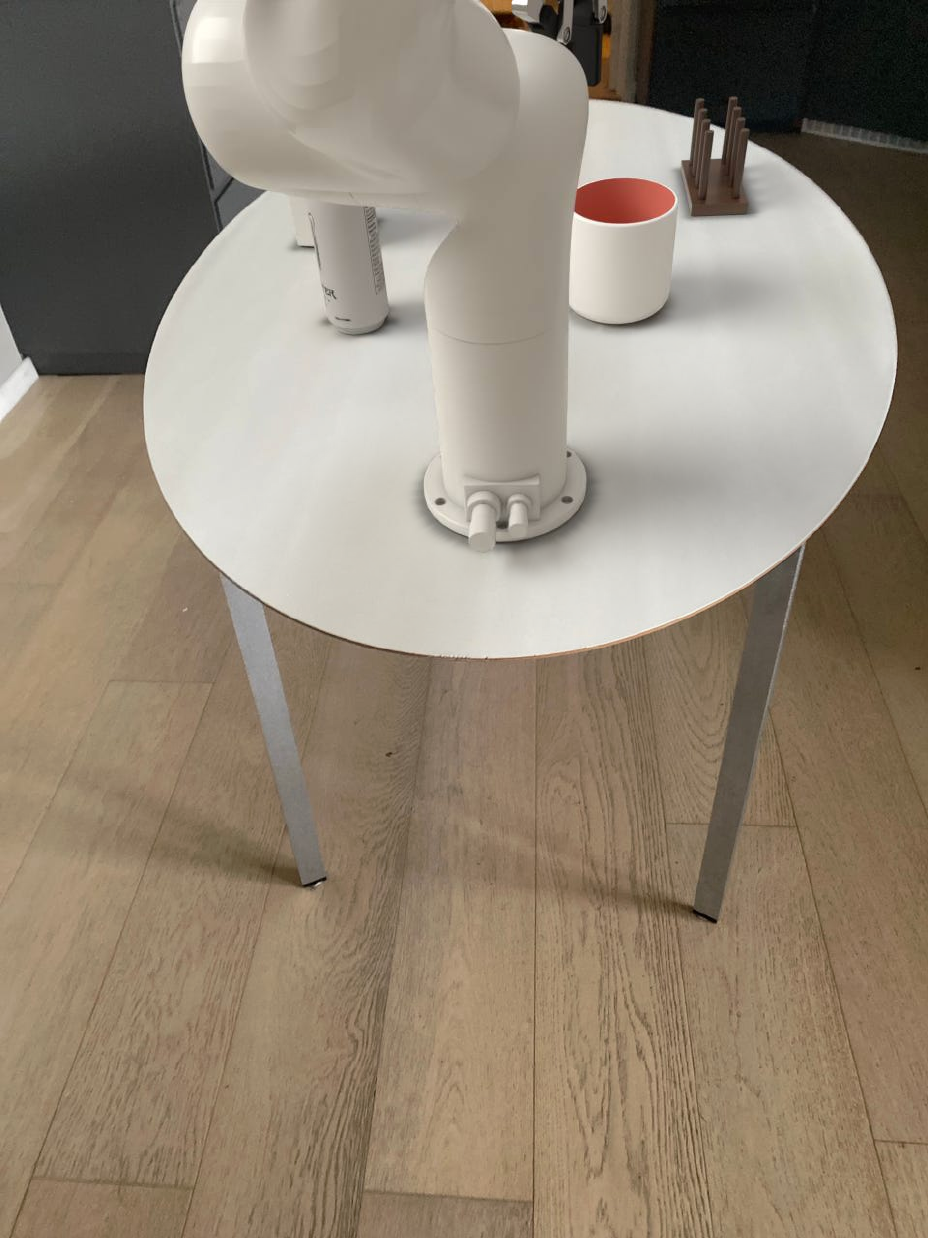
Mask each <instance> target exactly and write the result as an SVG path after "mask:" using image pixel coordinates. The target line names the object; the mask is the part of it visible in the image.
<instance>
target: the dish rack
mask: <svg viewBox="0 0 928 1238" xmlns="http://www.w3.org/2000/svg"><path fill="white" fill-rule="evenodd" d="M738 98H739V97H737V96H729V98H728V106H727V114H726V120H725V129H724V130H725V131H724V137H723V145H722V151H721V158H712V153H713V145H714V136H715V130H713V129H711V121H712V120H711V119H709V118H708V109H707V108H705V99H704V98H702V97H699V98H696V99H695V106H694V116H693V125H692V135H691V143H690V152H689V153H690V154H689V159H681V162H680V175H681V178H682V182H683V188H684V191H685V196H686V200H687V204H688V208H689V214H690V216H691V217H699V216H700V217H701V216H726V215H746V214H748V210H749V199H748V197H747V194H746V191H745V188H744V184H743V180H744V179H743V178H744V172H745V164H746V158H747V151H748V144H749V137H750V129H749V128H746V127H745V126H746V118H745V117H742V107H740V106H738Z"/></svg>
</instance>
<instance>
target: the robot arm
mask: <svg viewBox="0 0 928 1238" xmlns="http://www.w3.org/2000/svg"><path fill="white" fill-rule="evenodd" d="M546 1H547V0H512V1H511V12H512V14H513V15H514V16H515V17H518V18H519V19H521V20H522V21H524V22H525V24H526V25H527V26H528V28H529V29H528V30H523V29H516V28H508V27H507V28H506V27H501V25H500V23H499V21H498V20H497V19H496V17H495V16H494V15H493V13H492V12H491V10H489V9H488V7H487V6H486V5H485V4H484V3H483V2H482V1H481V0H197V1H196V2H195V3H194V6H193V8H192V9H191V12H190V14H189V18H188V21H187V23H186V27H185V31H184V36H183V41H182V50H181V75H182V86H183V91H184V96H185V101H186V104H187V107H188V111H189V115H190V117H191V120H192V123H193V125H194V128H195V130H196V132H197V134H198V136H199V138H200V140H201V141H202V143H203V145H204V147H205V148H206V150H207V151H208V153H209V154H210V156H211V157H212V158H213V160H214V161H215V162H216V163H217V164H218V165H219V167H220V168H222V170H224V172H226V173H227V174H228V175H229V176H231V177H232V178H233V179H235V180H236V181H237V182H240V183H242V184H244V185H245V186H249V187H252V188H255V189H259V190H263V191H266V192H267V191H268V192H271V193H272V192H273V193H277V194H280V195H287V196H288V195H290V196H295V197H300V198H305V199H310V200H315V201H321V202H327V203H334V204H341V205H352V206H365V207H375V208H380V209H381V208H383V209H392V210H393V209H395V210H407V211H419V212H421V211H422V212H426V213H429V214H439V215H446V216H449V217H451V218H453V219H454V220H455V222H456V224H455V226H454V227H453V228H452V229H451V230H450V231H449V233H448V234H446V237H445V238H444V239H443V240H442V242H441V243H440V244H439V245H438V247H437V248H436V250H435V252H434V253H433V254H432V256H431V258H430V261H429V262H428V265H427V268H426V271H425V274H424V279H423V302H424V303H423V304H424V312H425V318H426V319H425V320H426V327H427V328H426V329H427V336H428V348H429V357H430V367H431V377H432V383H433V384H432V385H433V393H434V394H433V395H434V404H435V413H436V414H435V415H436V425H437V433H438V442H439V453H437V454H436V455H435V456H434V458H433V459H432V461H431V462H430V463H429V465H428V467H427V469H426V471H425V474H424V478H423V492H424V493H423V494H424V499H425V502H426V505H427V508H428V509H429V511H430V513H431V514H432V517H434V518H435V519H436V520H437V521H438V522H439V523H440V524H442V526H444V527H446V528H448V529H449V530H452V531H453V532H455V533H457V534H459V535H463V536H465V537H467V538H468V547H470V549H471V550H473V551H474V552H476V553H484V554H485V553H488V552H490V551H492V550H493V549H494V548H495V546H496V543H497V542H500V543H501V542H516V541H522V540H529V539H532V538H535V537H538V536H539V537H540V536H541V535H545V534H547V533H549V532H551V531H553V530H555V529H557V528H559V527H561V526H562V525H564V524H565V523H566V522H568V521H570V520H571V518H573V516H574V515H575V514H576V513H577V512H578V511H579V509H580V507H581V506H582V504H583V502H584V501H585V496H586V493H587V478H588V477H587V472H586V468H585V466H584V463H583V462H582V460H581V458H580V457H579V456H578V455H577V454H576V452H575V451H574V450H573V449H572V448H570V447H569V446H568V402H569V401H568V396H569V394H568V393H569V340H570V339H569V336H570V335H569V333H570V331H569V330H570V305H569V278H570V252H571V238H572V225H573V216H574V208H575V200H576V194H577V188H578V187H579V181H580V175H581V169H582V163H583V158H584V152H585V146H586V141H587V134H588V125H589V114H590V113H589V110H590V109H589V108H590V95H589V87H591V88H595V87H597V86H598V85H600V84H601V82H602V70H603V69H602V67H603V66H602V65H603V43H604V42H603V41H604V40H603V39H604V24H603V23H604V22H605V20H606V19H607V16H608V0H551V1H553V2H557V11H556V10H555V9H554V6H553V5H552V4H546Z"/></svg>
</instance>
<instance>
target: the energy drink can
mask: <svg viewBox="0 0 928 1238" xmlns="http://www.w3.org/2000/svg"><path fill="white" fill-rule="evenodd" d="M305 200H306V205H307V210H308V215H309V221H310V226H311V231H312V237H313V242H314V246H313V247H314V252H315V257H316V262H317V268H318V272H319V273H318V274H319V278H320V284H321V288H322V294H323V299H324V305H325V311H326V315H327V319H328V321H329V322H330V323H331V324H332V325H333V326H334V327H335V328H336V330H337V331H339V332H341V333H342V334H343V333H344V334H346V335H365V334H368V333H371V332H373V331H376V330H378V329H379V328H381V326H382V325H384V323H385V319H386V317H387V316H388V315H389V312H390V307H389V298H388V292H387V283H386V277H385V269H384V263H383V262H384V261H383V254H382V248H381V241H380V233H379V226H378V225H379V224H378V218H377V217H378V216H377V210H376V207H365V206H352V205H341V204H334V203H327V202H321V201H315V200H310V199H305Z"/></svg>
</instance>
